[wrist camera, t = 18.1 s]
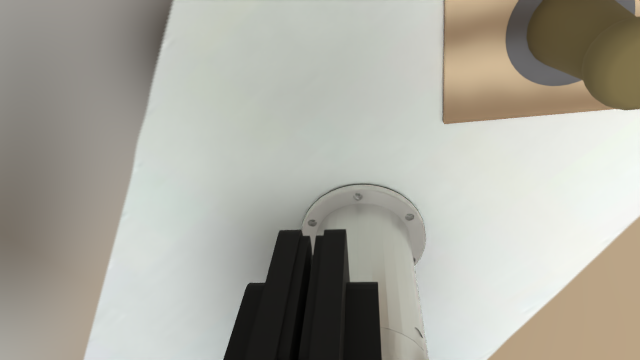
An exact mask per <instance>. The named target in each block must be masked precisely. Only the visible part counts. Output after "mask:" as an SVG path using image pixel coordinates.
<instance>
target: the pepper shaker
mask: <svg viewBox="0 0 640 360" xmlns="http://www.w3.org/2000/svg"><path fill="white" fill-rule="evenodd" d="M526 39H527V43H528V47H529V50H530V52H531V53H532V54H533V56H534V57H535V59H537V60H538V61H540V62H542V63H543V64H545V65H547V66H549V67H552V68H554V69H557V70H559V71H562V72H564V73H566V74H569V75H571V76H574V77H576V78H578V79H581V80H583V82H584V84H585V87H586V88H587V90H588V91H589V93H590V94H591V96H593V97H594V98H595V99H596V100H598V101H599V102H601V103H602V104H604V105H605V106H608V107H612V108H617V109H621V110H634V109H640V16H639V17H636V16H635V15H634V14H632V13H631V12H630V11H629V10H627V9H626V8H625V7H623V6H622V5H621V4H619V3H618V2H617V1H615V0H543V1H542V2H541V3H540V4H539V6H538V7H537V8H536V10H535V11H534V12H533V14H532V17H531V19H530V21H529V24H528V28H527V37H526Z"/></svg>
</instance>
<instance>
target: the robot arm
mask: <svg viewBox="0 0 640 360" xmlns="http://www.w3.org/2000/svg"><path fill="white" fill-rule="evenodd" d="M425 242H426V234H425V228H424V224H423V220H422V218H421V216H420V214H419V212H418V210H417V209H416V208H415V207H414V206H413V204H412V203H411V202H410V201H408V200H407V199H406V198H404V197H403V196H402V195H400V194H398V193H396V192H394V191H392V190H390V189H386V188H383V187H380V186H373V185H352V186H347V187H342V188H339V189H336V190H334V191H331V192H329V193H328V194H326V195H324V196H323V197H321V198H320V199H319V200H318V201H316V202H315V203H314V204H313V205H312V207H311V208H310V209H309V211H308V212H307V214H306V216H305V219H304V221H303V226H302V230H280V231H279V234H278V237H277V241H276V245H275V248H274V252H273V256H272V260H271V264H270V267H269V271H268V275H267V279H266V282H265V283H249V284H248V285H247V287H246V290H245V293H244V296H243V299H242V302H241V305H240V309H239V312H238V315H237V318H236V321H235V325H234V328H233V331H232V334H231V337H230V340H229V344H228V347H227V350H226V353H225V356H224V359H223V360H429V358H428V351H427V345H426V338H425V332H424V325H423V319H422V312H421V306H420V299H419V293H418V286H417V280H416V273H415V267H414V266H415V265H416V264H417V262H418V261H419V259H420V258H421V256H422V254H423V251H424V248H425Z"/></svg>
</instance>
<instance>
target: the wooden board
mask: <svg viewBox="0 0 640 360" xmlns="http://www.w3.org/2000/svg"><path fill="white" fill-rule="evenodd" d="M542 1H543V0H445V2H444V84H443V122H444V124H450V123H461V122H473V121H484V120H496V119H507V118H518V117H530V116H541V115H552V114H564V113H575V112H586V111H598V110H609V109H617V108H612V107H608V106H605V105H604V104H602V103H601V102H599V101H598V100H596V99H595V98H594V97H593V96H591V94H590V93H589V91H588V90H587V88H586V87H585V84H584V82H583V80H581V79H578V78H576V77H574V76H571V75H569V74H566V73H564V72H562V71H559V70H557V69H554V68H552V67H549V66H547V65H545V64H543V63H542V62H540V61H538V60H537V59H535V57H534V56H533V54H532V53H531V52H530V50H529V47H528V43H527V39H526V37H527V28H528V24H529V21H530V19H531V17H532V14H533V12H534V11H535V10H536V8H537V7H538V6H539V4H540V3H541V2H542ZM615 1H617V2H618V3H619V4H621V5H622V6H623V7H625V8H626V9H627V10H629V11H630V12H631V13H632V14H634V15H635V16H636V17H639V16H640V0H615Z"/></svg>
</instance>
